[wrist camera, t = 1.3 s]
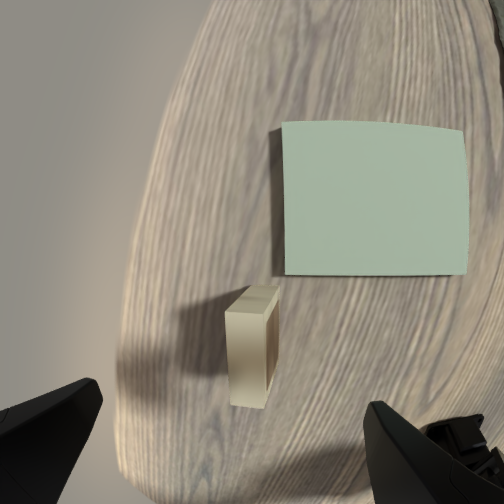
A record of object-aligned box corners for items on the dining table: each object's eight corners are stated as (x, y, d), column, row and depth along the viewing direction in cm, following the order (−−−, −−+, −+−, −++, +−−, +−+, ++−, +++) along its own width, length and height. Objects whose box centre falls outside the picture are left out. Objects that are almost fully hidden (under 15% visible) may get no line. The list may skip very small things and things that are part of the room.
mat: (460, 271, 17) (466, 274, 16) (286, 271, 20) (285, 274, 19) (456, 134, 16) (462, 131, 15) (283, 126, 18) (281, 122, 17)
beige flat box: (279, 362, 21) (264, 409, 15) (253, 360, 21) (230, 404, 15) (280, 285, 20) (264, 314, 14) (251, 284, 20) (224, 311, 15)
